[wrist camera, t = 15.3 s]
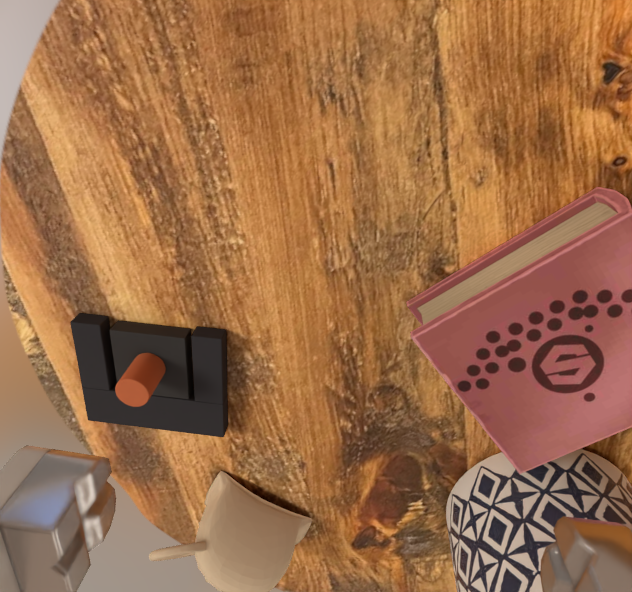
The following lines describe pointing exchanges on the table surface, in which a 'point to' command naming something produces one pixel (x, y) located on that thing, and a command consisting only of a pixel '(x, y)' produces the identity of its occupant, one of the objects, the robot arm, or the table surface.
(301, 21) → the table surface
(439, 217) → the table surface
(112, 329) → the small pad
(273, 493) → the table surface
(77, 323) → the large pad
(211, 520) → the decorative ornament
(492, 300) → the book
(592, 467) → the planter
